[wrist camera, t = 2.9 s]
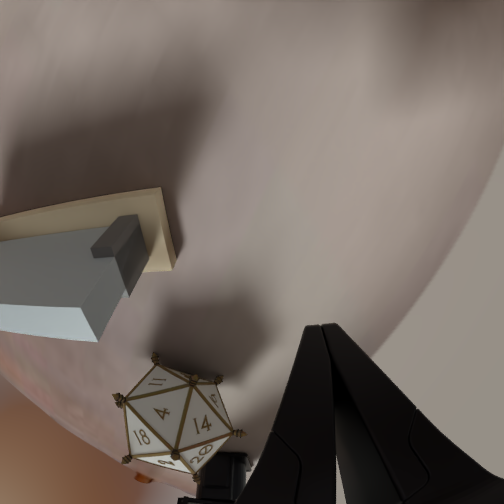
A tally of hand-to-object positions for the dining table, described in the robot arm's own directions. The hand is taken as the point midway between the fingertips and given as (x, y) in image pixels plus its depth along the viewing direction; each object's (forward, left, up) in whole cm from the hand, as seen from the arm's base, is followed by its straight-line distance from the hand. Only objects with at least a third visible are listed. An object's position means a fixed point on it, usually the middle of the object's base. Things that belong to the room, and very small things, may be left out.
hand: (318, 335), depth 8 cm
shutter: (0, +13, -6) cm, 14 cm away
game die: (-12, +8, -8) cm, 16 cm away
